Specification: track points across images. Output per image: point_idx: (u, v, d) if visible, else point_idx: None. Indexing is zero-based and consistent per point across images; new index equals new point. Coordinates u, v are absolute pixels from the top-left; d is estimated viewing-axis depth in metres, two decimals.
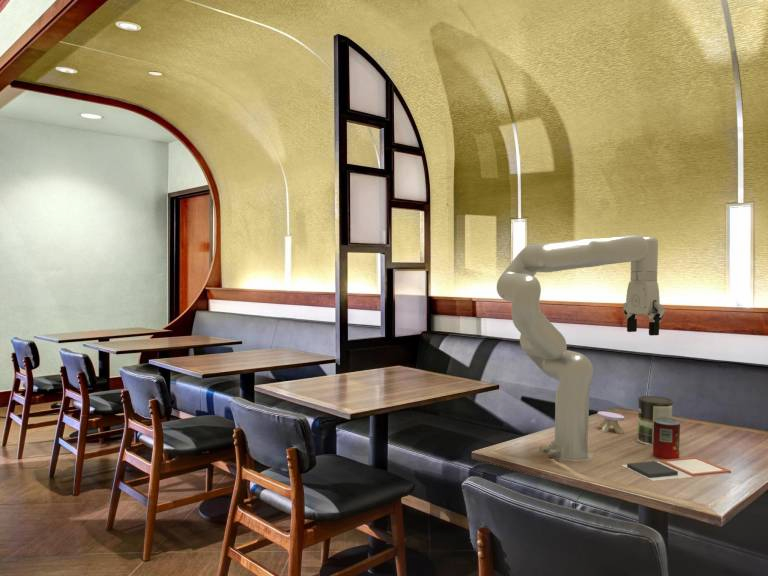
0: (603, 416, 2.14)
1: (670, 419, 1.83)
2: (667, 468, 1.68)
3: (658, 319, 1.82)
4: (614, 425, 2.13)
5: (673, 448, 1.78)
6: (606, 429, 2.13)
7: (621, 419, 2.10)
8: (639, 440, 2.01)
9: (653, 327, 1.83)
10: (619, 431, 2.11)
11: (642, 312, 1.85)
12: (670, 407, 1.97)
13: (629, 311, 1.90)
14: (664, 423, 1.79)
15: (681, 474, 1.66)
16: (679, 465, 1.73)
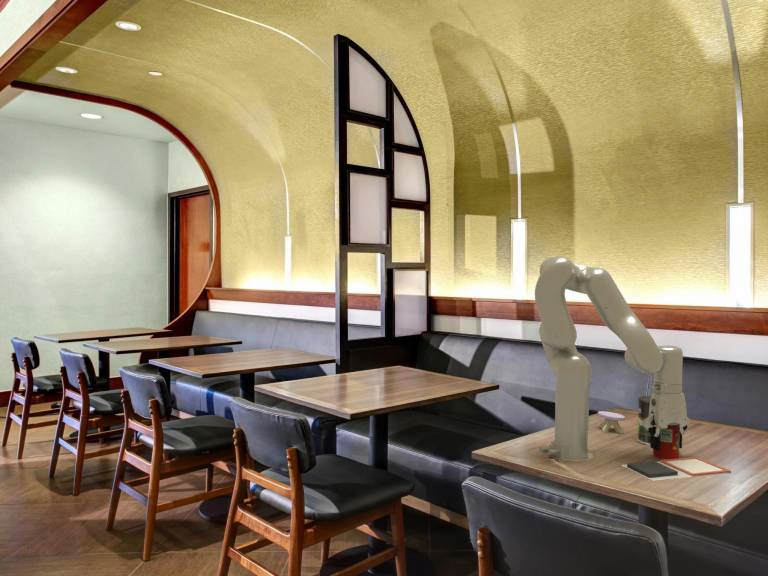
0: (603, 416, 2.14)
1: None
2: (667, 468, 1.68)
3: None
4: (614, 425, 2.13)
5: (673, 448, 1.78)
6: (606, 429, 2.13)
7: (621, 419, 2.11)
8: (639, 440, 2.01)
9: None
10: (620, 431, 2.12)
11: (682, 425, 1.80)
12: None
13: (665, 426, 1.78)
14: None
15: (681, 474, 1.66)
16: (679, 465, 1.73)
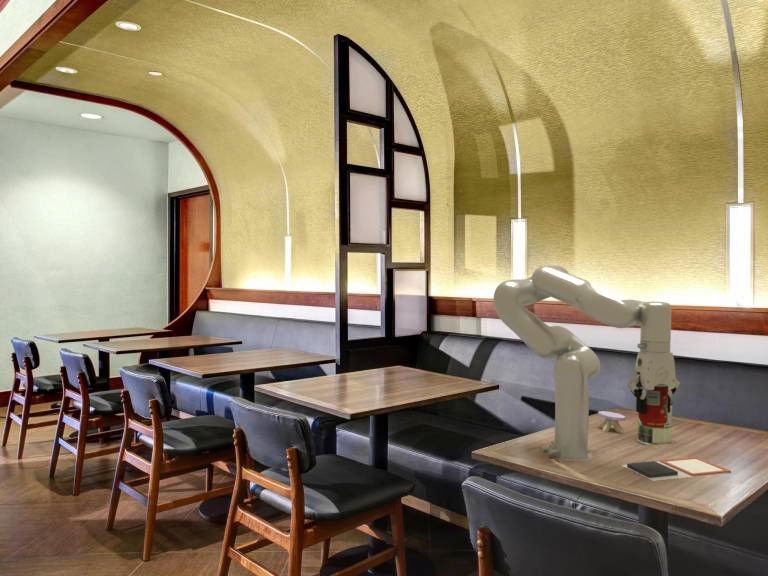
0: (604, 416, 2.14)
1: None
2: (667, 468, 1.68)
3: None
4: (615, 425, 2.13)
5: (661, 412, 1.65)
6: (607, 429, 2.13)
7: (622, 419, 2.11)
8: (639, 440, 2.01)
9: None
10: (620, 431, 2.12)
11: (670, 386, 1.66)
12: (670, 407, 1.97)
13: (652, 388, 1.65)
14: None
15: (681, 474, 1.66)
16: (679, 465, 1.73)
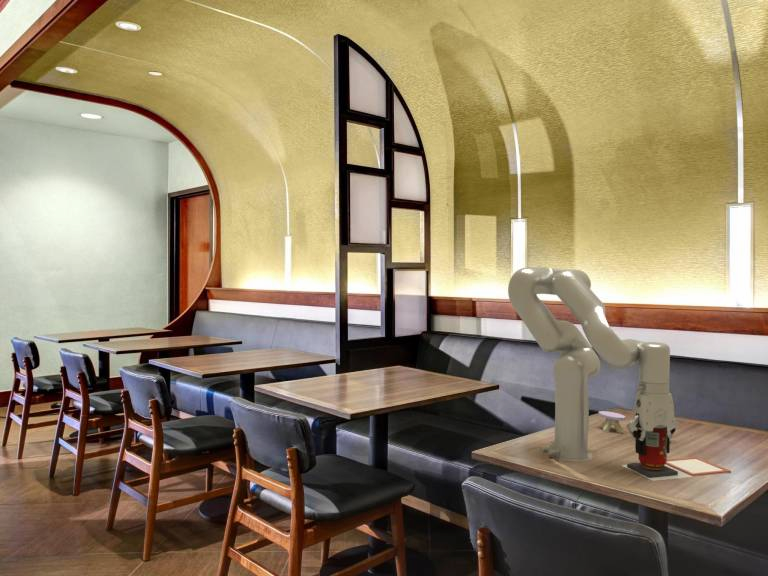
0: (604, 416, 2.14)
1: None
2: (667, 468, 1.68)
3: None
4: (615, 425, 2.14)
5: (660, 453, 1.65)
6: (607, 429, 2.13)
7: (622, 419, 2.11)
8: None
9: None
10: (621, 431, 2.12)
11: (670, 427, 1.66)
12: None
13: (651, 429, 1.65)
14: None
15: (681, 474, 1.66)
16: (679, 465, 1.73)
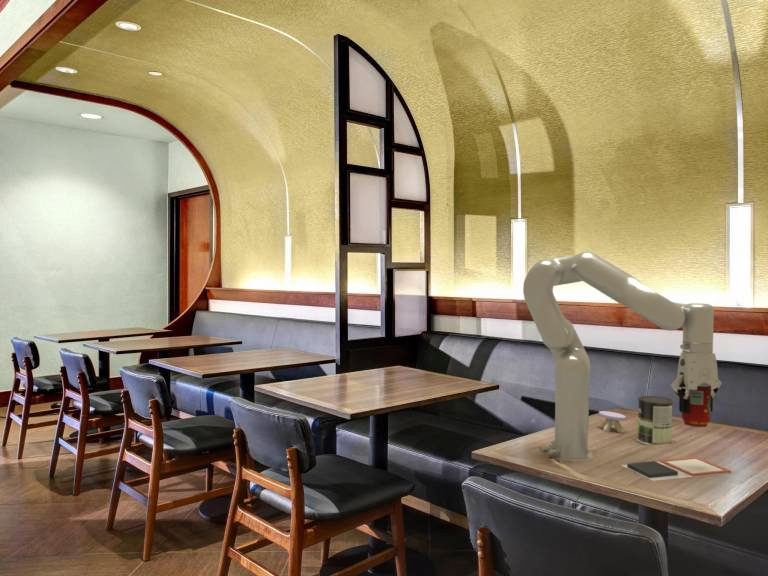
0: (605, 416, 2.14)
1: None
2: (667, 468, 1.68)
3: None
4: (615, 425, 2.14)
5: (705, 411, 1.68)
6: (608, 429, 2.13)
7: (623, 419, 2.11)
8: (639, 440, 2.01)
9: None
10: (621, 431, 2.12)
11: (713, 386, 1.70)
12: (670, 407, 1.97)
13: (696, 388, 1.68)
14: None
15: (681, 474, 1.66)
16: (679, 465, 1.73)
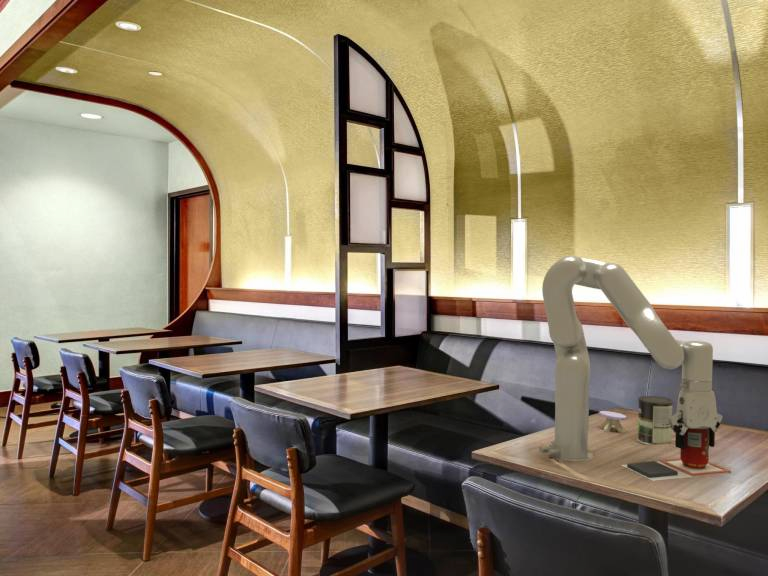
0: (605, 416, 2.14)
1: None
2: (667, 468, 1.68)
3: None
4: (616, 425, 2.14)
5: (703, 453, 1.69)
6: (608, 429, 2.13)
7: (623, 419, 2.11)
8: (639, 440, 2.01)
9: None
10: (621, 431, 2.12)
11: (712, 424, 1.70)
12: (670, 407, 1.97)
13: (695, 426, 1.69)
14: None
15: (681, 474, 1.66)
16: (679, 465, 1.73)
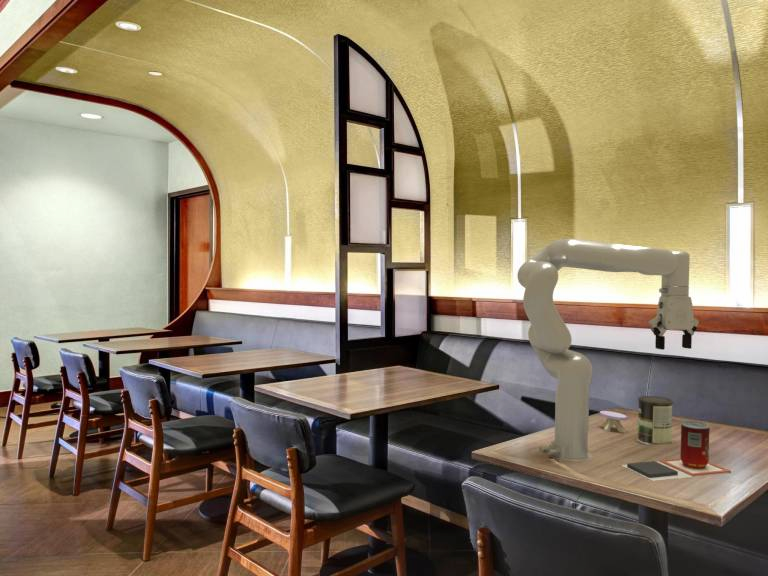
0: (606, 415, 2.14)
1: (699, 422, 1.73)
2: (667, 468, 1.68)
3: None
4: (616, 425, 2.14)
5: (703, 453, 1.69)
6: (608, 428, 2.14)
7: (624, 419, 2.11)
8: (639, 440, 2.01)
9: None
10: (622, 430, 2.12)
11: (689, 327, 1.85)
12: (670, 407, 1.97)
13: (673, 327, 1.84)
14: (693, 426, 1.70)
15: (681, 474, 1.66)
16: (679, 465, 1.73)
